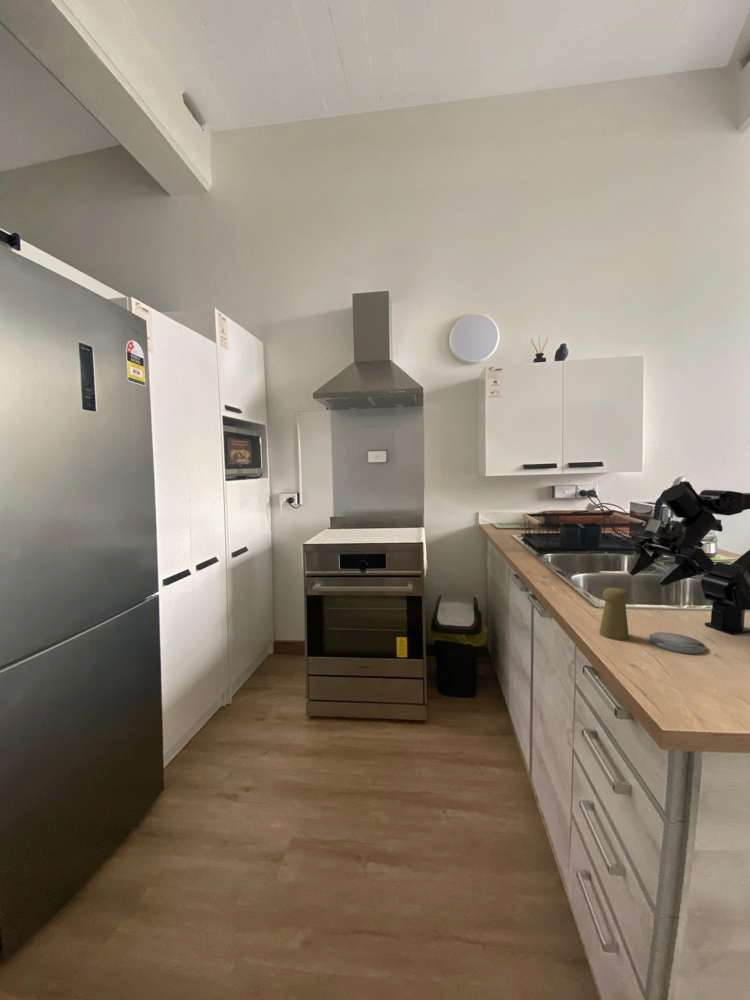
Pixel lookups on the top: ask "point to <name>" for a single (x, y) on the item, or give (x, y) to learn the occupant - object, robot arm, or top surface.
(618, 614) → the cork
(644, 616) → the top surface
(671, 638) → the coaster
